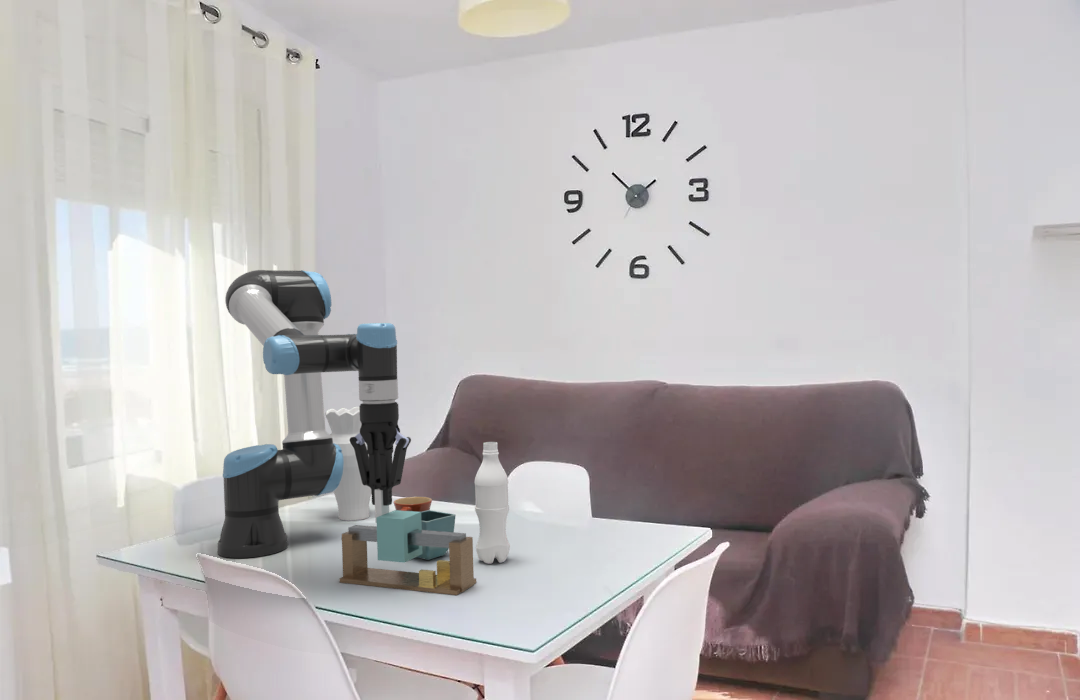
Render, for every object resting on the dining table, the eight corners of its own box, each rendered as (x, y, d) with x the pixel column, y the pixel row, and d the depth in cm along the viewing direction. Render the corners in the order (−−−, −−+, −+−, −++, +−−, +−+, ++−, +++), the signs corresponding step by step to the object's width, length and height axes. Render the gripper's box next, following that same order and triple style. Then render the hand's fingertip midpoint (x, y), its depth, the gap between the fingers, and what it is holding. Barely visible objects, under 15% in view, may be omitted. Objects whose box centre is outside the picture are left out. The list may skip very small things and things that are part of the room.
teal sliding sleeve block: (377, 560, 159) (376, 517, 159) (396, 551, 165) (395, 510, 165) (404, 562, 157) (403, 519, 156) (422, 553, 163) (421, 511, 163)
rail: (338, 582, 162) (336, 530, 161) (362, 571, 169) (360, 521, 169) (457, 595, 152) (456, 540, 152) (477, 582, 159) (475, 530, 159)
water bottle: (480, 566, 170) (476, 446, 169) (473, 557, 177) (470, 441, 176) (513, 563, 172) (510, 443, 171) (506, 554, 179) (503, 439, 178)
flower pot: (430, 549, 185) (429, 509, 185) (457, 555, 180) (456, 514, 180) (400, 557, 179) (399, 516, 178) (428, 564, 173) (426, 521, 173)
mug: (403, 539, 194) (401, 496, 194) (438, 540, 193) (437, 496, 193) (383, 553, 183) (381, 507, 183) (420, 554, 181) (419, 507, 181)
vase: (324, 514, 225) (320, 408, 224) (378, 509, 229) (375, 405, 228) (327, 526, 211) (323, 412, 210) (385, 520, 215) (381, 409, 214)
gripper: (339, 403, 161) (343, 523, 161) (396, 403, 156) (400, 528, 156) (362, 400, 168) (365, 515, 168) (417, 400, 163) (421, 519, 163)
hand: (382, 521), depth 162 cm, fingers closed
